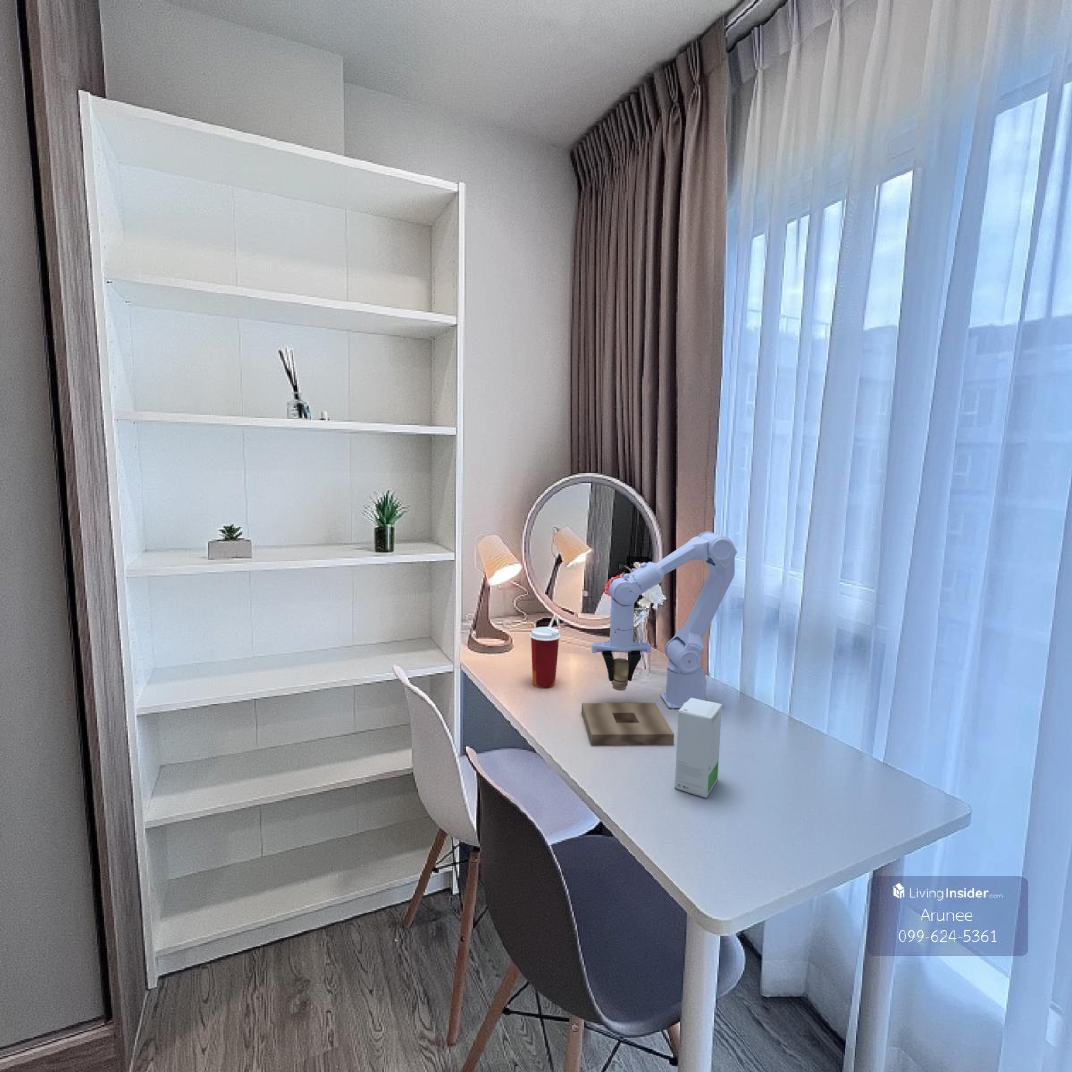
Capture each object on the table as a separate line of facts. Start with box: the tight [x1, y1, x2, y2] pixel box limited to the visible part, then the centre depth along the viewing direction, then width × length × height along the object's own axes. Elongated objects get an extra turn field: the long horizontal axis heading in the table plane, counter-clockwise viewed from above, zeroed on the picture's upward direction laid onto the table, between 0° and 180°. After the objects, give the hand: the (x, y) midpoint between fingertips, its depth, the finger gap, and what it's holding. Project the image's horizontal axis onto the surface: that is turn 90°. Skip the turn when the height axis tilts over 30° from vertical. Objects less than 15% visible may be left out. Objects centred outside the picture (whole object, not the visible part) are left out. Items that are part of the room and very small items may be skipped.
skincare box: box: [674, 698, 723, 799], centre depth 113 cm, size 8×7×16 cm
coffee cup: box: [529, 626, 561, 689], centre depth 160 cm, size 8×8×15 cm
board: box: [581, 702, 675, 747], centre depth 136 cm, size 18×16×2 cm
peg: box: [611, 657, 630, 692], centre depth 148 cm, size 4×4×7 cm
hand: (619, 679), depth 148 cm, fingers closed on peg, 4 cm apart
